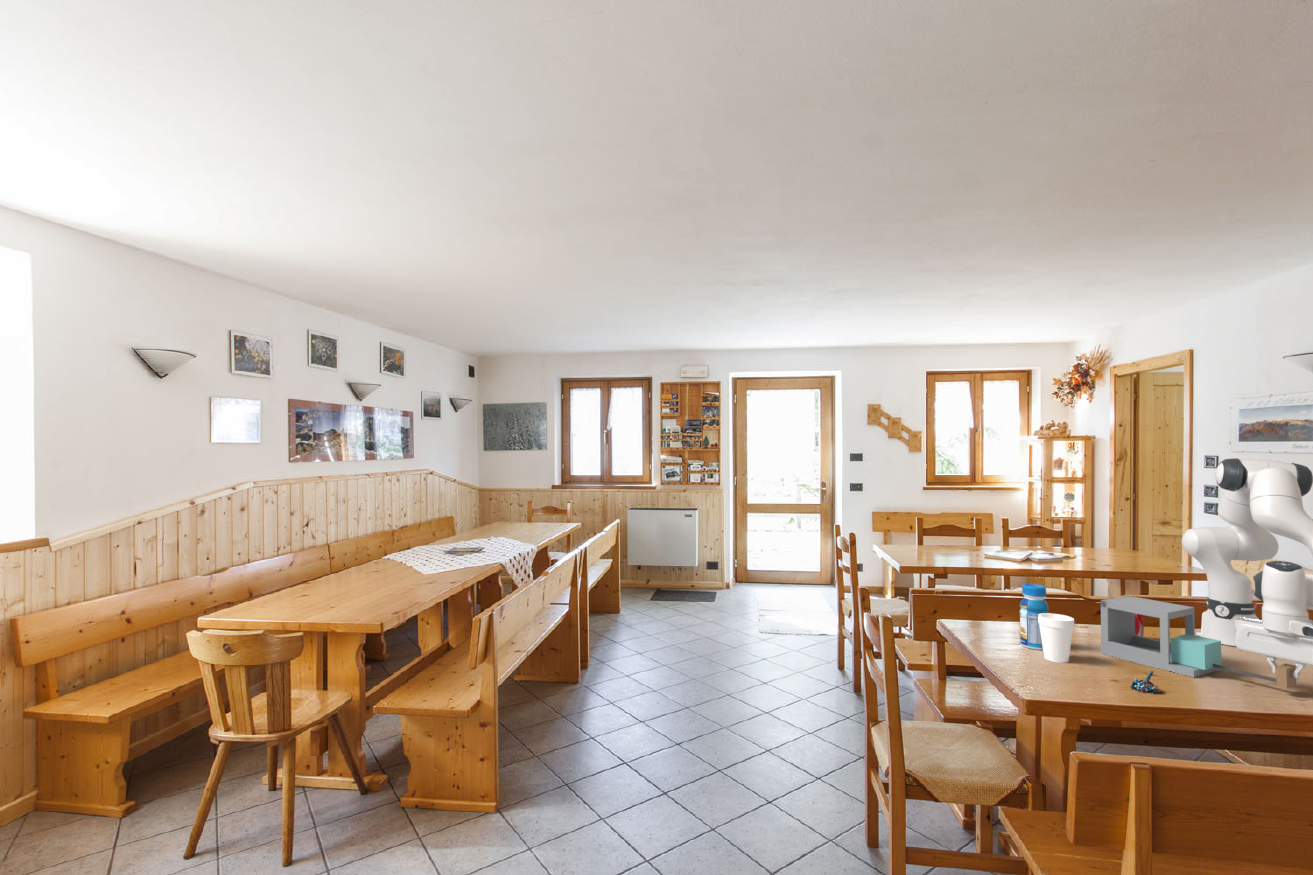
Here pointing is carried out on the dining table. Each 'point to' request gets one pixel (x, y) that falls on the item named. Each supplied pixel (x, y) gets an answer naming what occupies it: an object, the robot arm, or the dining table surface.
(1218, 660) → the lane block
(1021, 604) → the beverage bottle
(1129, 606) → the shelf lane
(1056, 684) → the dining table surface
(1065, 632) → the foam cup
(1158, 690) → the blue bumpy stemmed lump
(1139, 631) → the soda can
